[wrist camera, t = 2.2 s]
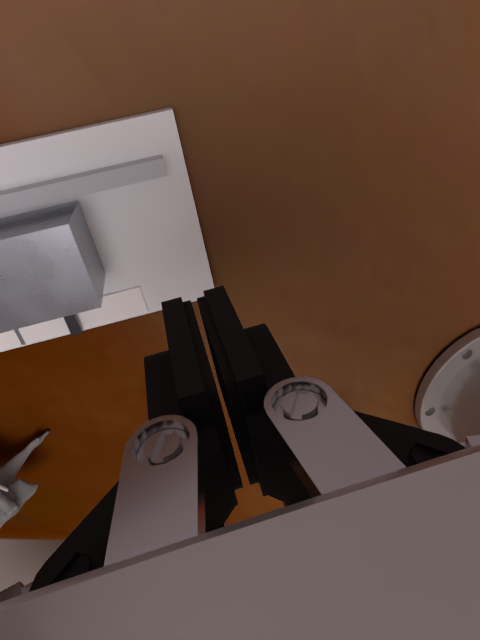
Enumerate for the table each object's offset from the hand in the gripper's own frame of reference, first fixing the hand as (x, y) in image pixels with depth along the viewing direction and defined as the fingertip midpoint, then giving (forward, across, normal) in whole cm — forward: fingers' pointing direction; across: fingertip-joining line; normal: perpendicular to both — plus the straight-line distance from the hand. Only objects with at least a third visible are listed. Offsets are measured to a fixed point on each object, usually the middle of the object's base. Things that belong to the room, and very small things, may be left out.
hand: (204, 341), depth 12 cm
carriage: (+13, +6, +2) cm, 15 cm away
